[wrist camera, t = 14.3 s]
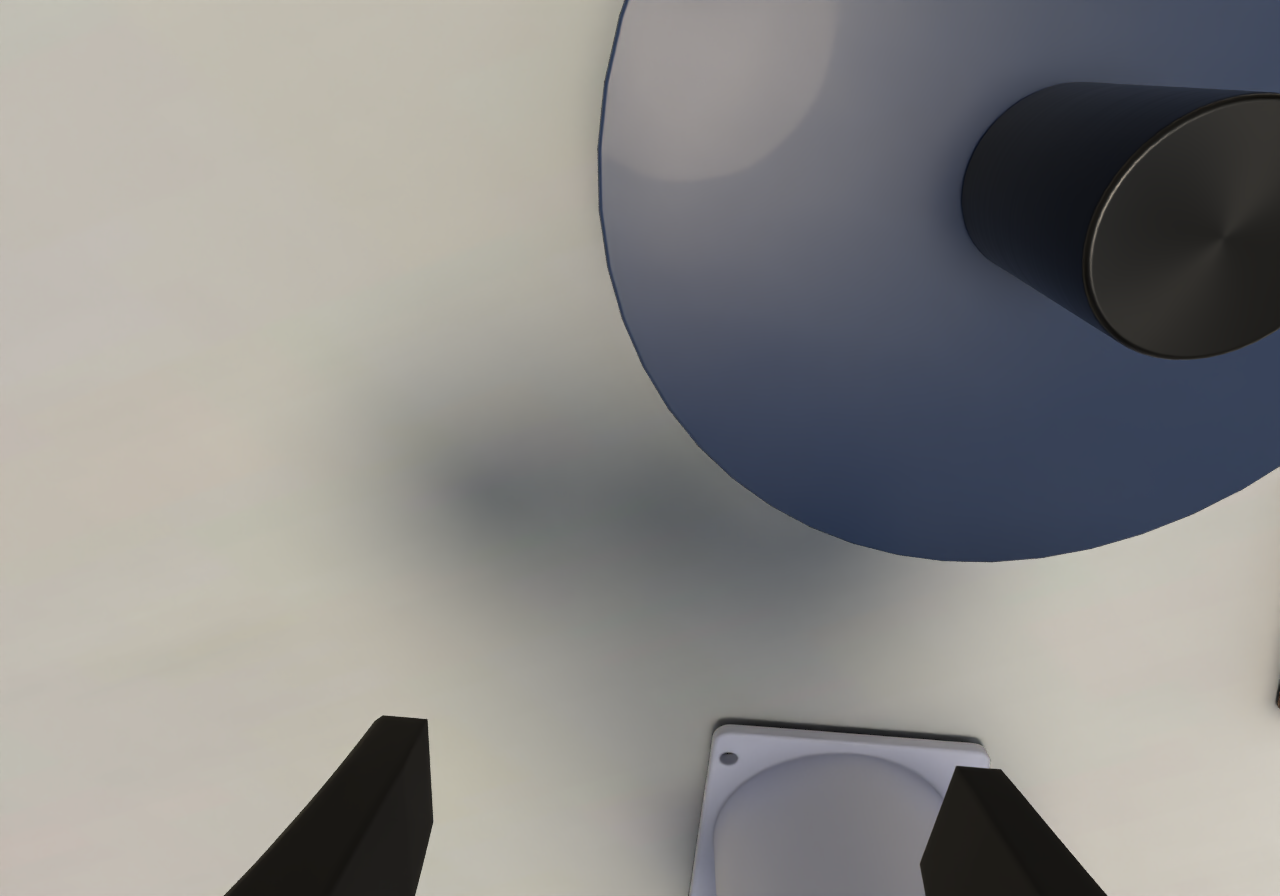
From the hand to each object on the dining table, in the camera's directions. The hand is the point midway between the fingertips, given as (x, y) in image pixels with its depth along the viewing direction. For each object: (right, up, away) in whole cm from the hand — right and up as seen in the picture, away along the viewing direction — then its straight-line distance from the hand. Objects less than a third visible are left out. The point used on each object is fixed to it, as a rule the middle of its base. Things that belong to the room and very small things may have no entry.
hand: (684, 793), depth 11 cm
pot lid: (+4, +8, -1) cm, 9 cm away
